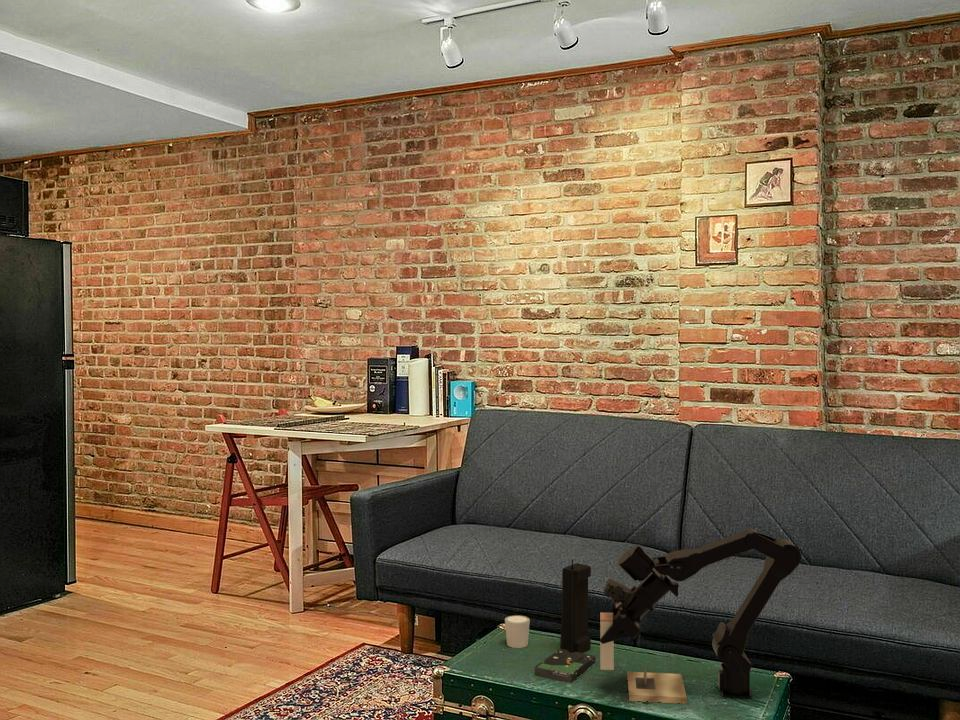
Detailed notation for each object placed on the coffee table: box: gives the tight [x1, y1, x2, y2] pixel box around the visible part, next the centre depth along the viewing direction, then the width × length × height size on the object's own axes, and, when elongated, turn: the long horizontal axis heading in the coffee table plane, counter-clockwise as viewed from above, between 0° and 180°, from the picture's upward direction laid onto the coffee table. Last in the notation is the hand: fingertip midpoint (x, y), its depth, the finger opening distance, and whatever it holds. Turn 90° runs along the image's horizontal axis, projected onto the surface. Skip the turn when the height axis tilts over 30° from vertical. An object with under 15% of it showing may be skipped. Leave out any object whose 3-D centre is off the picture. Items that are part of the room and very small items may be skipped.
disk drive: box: [534, 648, 596, 684], centre depth 224 cm, size 10×3×15 cm
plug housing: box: [599, 611, 615, 671], centre depth 212 cm, size 3×5×12 cm, turn 173°
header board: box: [626, 668, 688, 705], centre depth 211 cm, size 13×14×4 cm
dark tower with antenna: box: [559, 559, 592, 653], centre depth 238 cm, size 8×6×25 cm
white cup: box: [504, 615, 531, 649], centre depth 242 cm, size 7×7×7 cm
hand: (601, 638), depth 212 cm, fingers closed on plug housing, 5 cm apart
